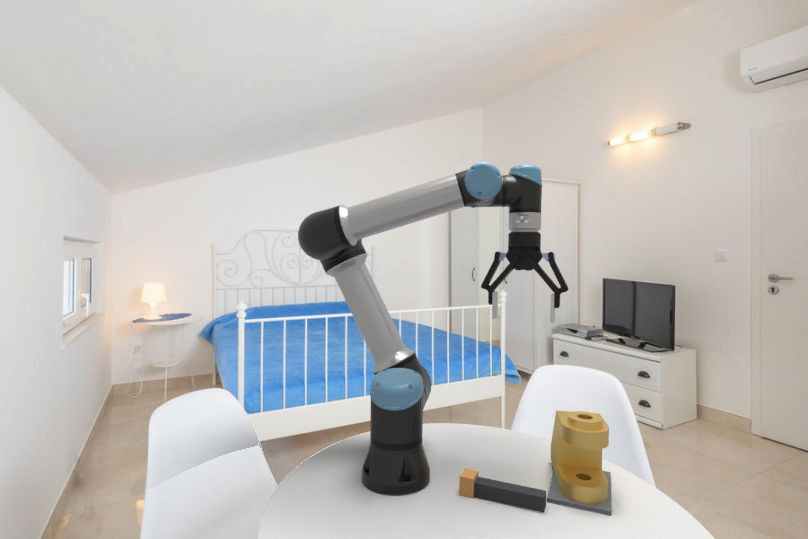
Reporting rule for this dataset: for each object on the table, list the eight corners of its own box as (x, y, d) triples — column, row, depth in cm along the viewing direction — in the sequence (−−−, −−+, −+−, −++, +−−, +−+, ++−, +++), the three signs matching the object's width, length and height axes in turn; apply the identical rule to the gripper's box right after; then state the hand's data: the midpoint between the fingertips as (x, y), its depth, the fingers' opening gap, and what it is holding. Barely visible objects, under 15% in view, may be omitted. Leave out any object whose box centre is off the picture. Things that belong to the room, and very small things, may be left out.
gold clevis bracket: (612, 507, 90) (614, 426, 90) (563, 501, 92) (565, 422, 92) (590, 462, 110) (592, 396, 109) (550, 459, 112) (551, 393, 111)
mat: (546, 501, 93) (546, 497, 93) (555, 465, 110) (555, 462, 110) (611, 515, 89) (611, 511, 89) (610, 475, 105) (610, 472, 105)
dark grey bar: (459, 495, 96) (459, 476, 96) (464, 486, 99) (464, 468, 99) (543, 514, 89) (544, 493, 89) (546, 504, 92) (546, 484, 92)
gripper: (469, 231, 111) (468, 318, 112) (579, 229, 101) (577, 325, 102) (477, 233, 118) (476, 315, 119) (581, 231, 108) (579, 321, 109)
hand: (522, 320), depth 110 cm, fingers open, 13 cm apart
